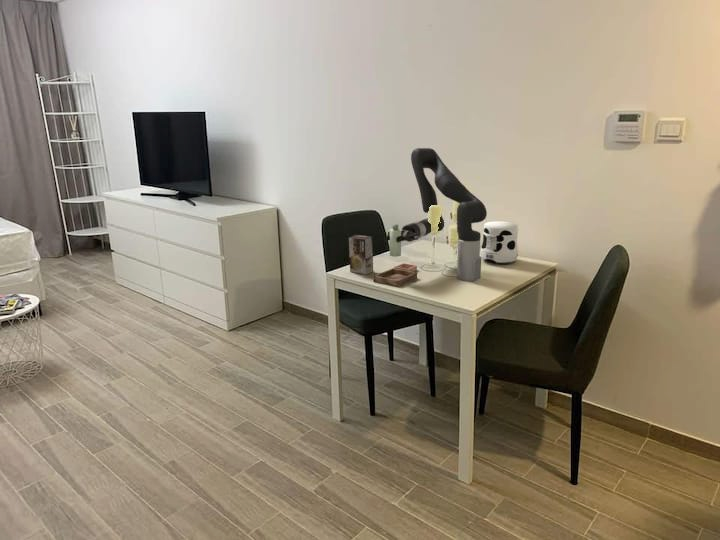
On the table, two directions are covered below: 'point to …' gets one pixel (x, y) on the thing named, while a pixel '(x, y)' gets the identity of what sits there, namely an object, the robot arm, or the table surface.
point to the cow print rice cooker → (499, 242)
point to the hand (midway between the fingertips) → (391, 239)
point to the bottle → (395, 246)
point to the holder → (407, 266)
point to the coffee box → (361, 254)
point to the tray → (395, 277)
